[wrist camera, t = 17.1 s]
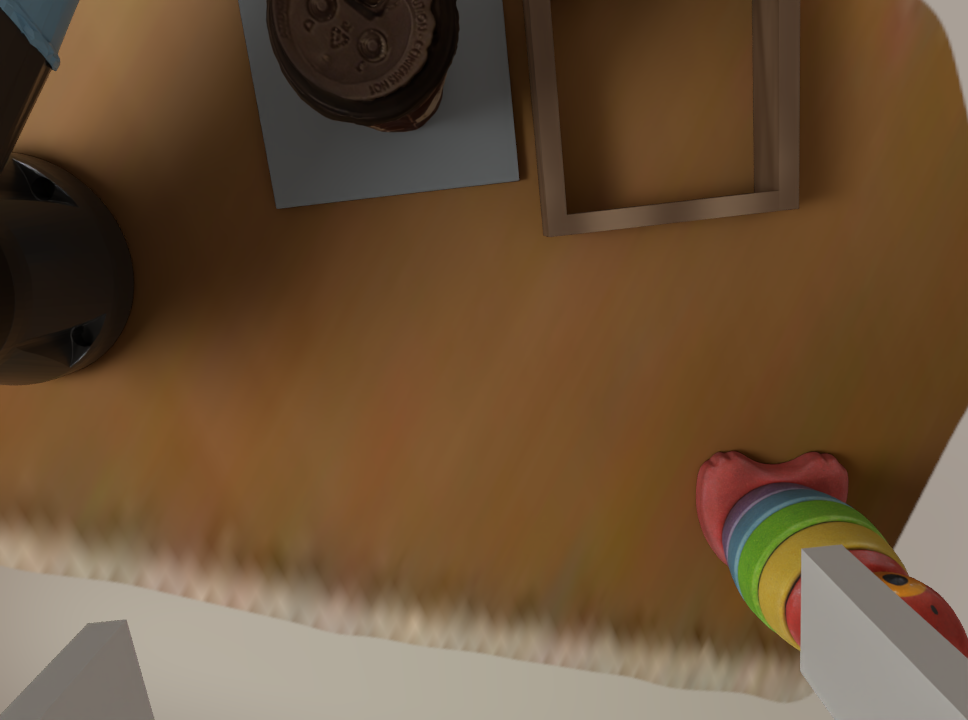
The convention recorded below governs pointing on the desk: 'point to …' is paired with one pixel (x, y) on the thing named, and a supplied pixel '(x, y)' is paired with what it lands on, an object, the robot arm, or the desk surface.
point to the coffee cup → (366, 57)
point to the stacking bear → (798, 537)
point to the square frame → (771, 193)
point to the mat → (390, 155)
